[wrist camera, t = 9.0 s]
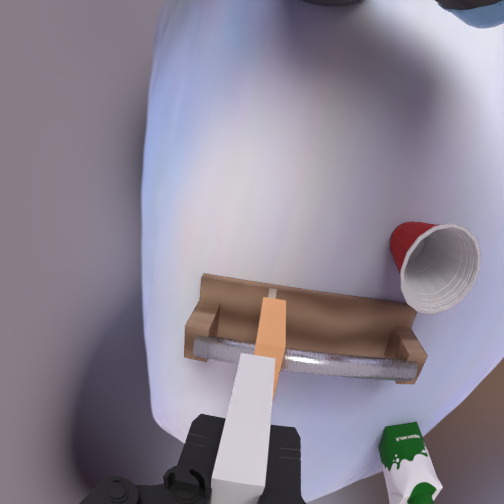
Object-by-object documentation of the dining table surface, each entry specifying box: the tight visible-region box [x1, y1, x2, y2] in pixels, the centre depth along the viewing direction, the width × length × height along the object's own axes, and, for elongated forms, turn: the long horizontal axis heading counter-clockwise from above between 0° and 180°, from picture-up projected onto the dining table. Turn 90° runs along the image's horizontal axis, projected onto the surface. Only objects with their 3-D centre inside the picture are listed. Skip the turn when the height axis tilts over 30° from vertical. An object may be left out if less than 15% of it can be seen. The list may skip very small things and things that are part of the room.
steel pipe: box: [193, 335, 417, 381], centre depth 38 cm, size 4×29×4 cm, turn 83°
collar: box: [254, 297, 286, 402], centre depth 38 cm, size 11×3×11 cm, turn 173°
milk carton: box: [379, 422, 443, 504], centre depth 43 cm, size 9×9×20 cm
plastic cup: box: [390, 222, 481, 314], centre depth 35 cm, size 11×11×12 cm
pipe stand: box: [184, 273, 428, 384], centre depth 42 cm, size 12×32×9 cm, turn 83°
